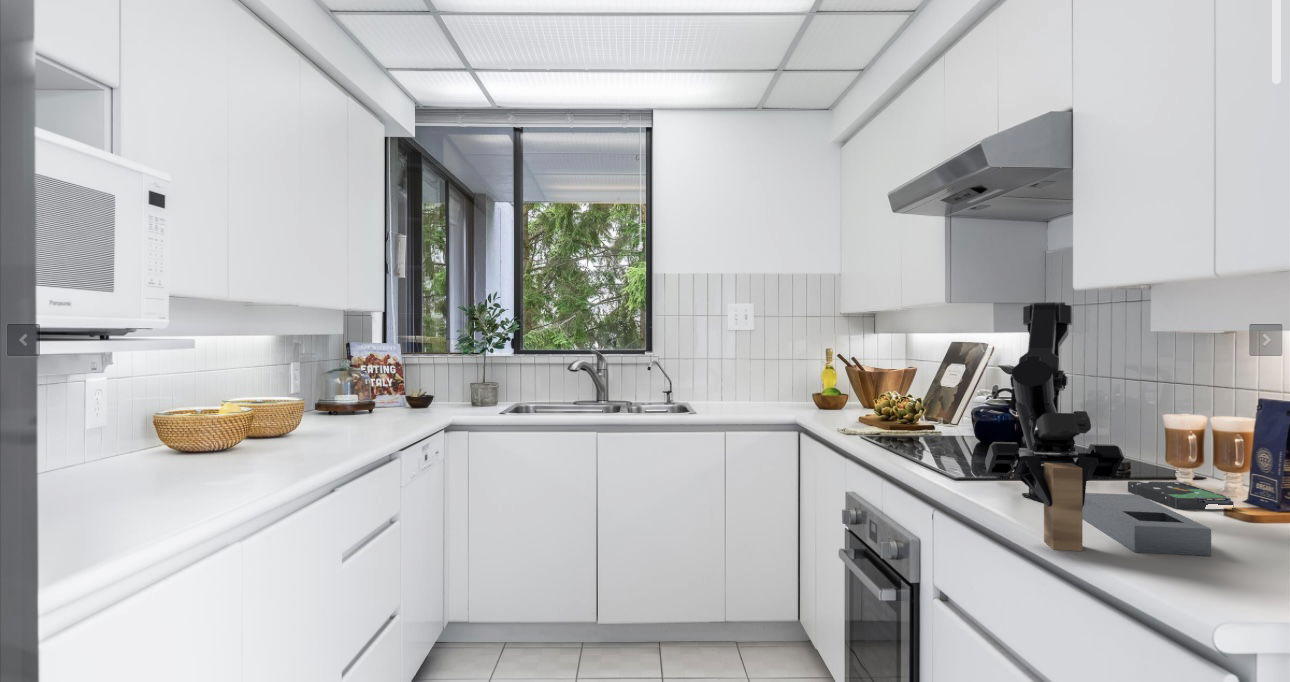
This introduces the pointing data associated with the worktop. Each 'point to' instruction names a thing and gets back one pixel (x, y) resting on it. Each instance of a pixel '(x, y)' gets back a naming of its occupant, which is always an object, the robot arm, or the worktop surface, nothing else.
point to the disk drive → (1177, 495)
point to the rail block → (1145, 525)
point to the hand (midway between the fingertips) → (1066, 505)
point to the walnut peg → (1063, 507)
